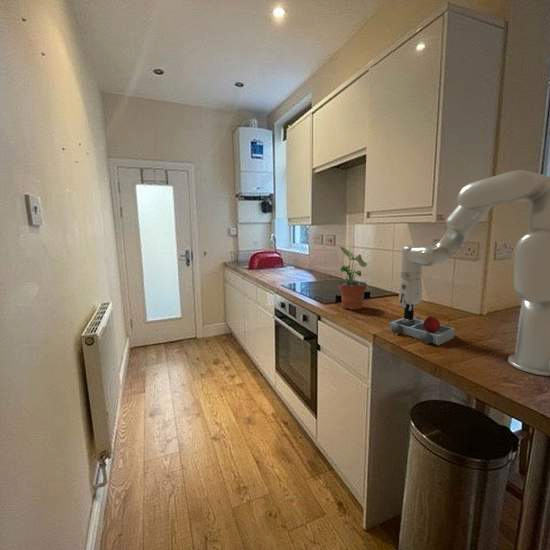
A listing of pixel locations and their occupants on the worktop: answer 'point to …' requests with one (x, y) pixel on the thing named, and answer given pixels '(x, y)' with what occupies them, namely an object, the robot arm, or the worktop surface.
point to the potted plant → (352, 284)
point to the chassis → (423, 331)
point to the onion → (431, 324)
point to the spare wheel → (408, 322)
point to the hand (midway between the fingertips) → (408, 318)
